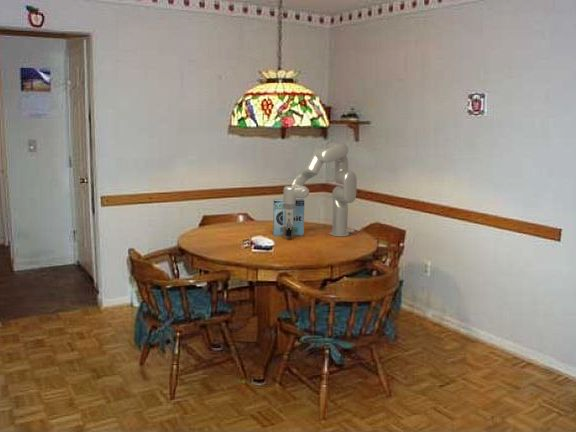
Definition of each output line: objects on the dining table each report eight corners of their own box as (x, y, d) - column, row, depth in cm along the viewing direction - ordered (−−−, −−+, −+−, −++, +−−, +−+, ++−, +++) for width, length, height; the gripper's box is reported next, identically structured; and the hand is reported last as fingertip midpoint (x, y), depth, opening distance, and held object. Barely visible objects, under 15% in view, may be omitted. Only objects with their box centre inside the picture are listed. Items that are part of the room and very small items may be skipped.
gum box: (302, 234, 378) (303, 199, 374) (303, 235, 373) (304, 200, 369) (272, 234, 376) (273, 199, 372) (273, 235, 371) (274, 200, 367)
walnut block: (293, 236, 372) (293, 227, 371) (292, 239, 363) (292, 229, 362) (283, 236, 372) (283, 226, 371) (283, 239, 363) (283, 229, 362)
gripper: (295, 208, 349) (294, 238, 353) (295, 204, 364) (294, 233, 367) (283, 208, 349) (282, 238, 353) (283, 204, 364) (282, 233, 367)
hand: (288, 235), depth 360 cm, fingers closed
